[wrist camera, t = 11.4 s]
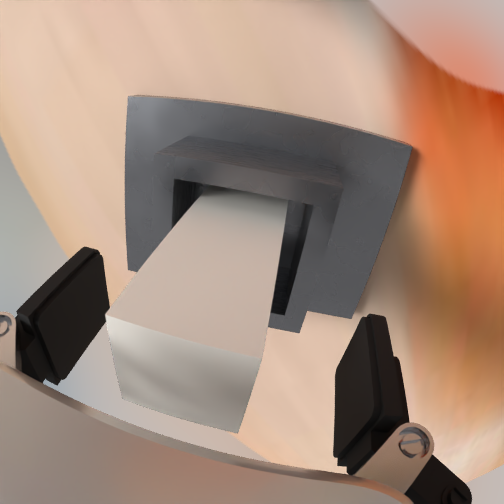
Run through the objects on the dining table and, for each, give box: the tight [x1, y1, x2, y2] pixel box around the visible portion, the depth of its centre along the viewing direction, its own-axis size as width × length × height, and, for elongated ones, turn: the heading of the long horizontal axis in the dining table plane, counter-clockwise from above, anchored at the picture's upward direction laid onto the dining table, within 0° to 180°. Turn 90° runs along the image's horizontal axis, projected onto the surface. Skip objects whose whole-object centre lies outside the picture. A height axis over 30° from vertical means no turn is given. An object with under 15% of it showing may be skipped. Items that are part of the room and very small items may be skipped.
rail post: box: [105, 185, 288, 433], centre depth 14 cm, size 4×4×12 cm
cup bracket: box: [125, 95, 412, 333], centre depth 17 cm, size 16×12×6 cm
